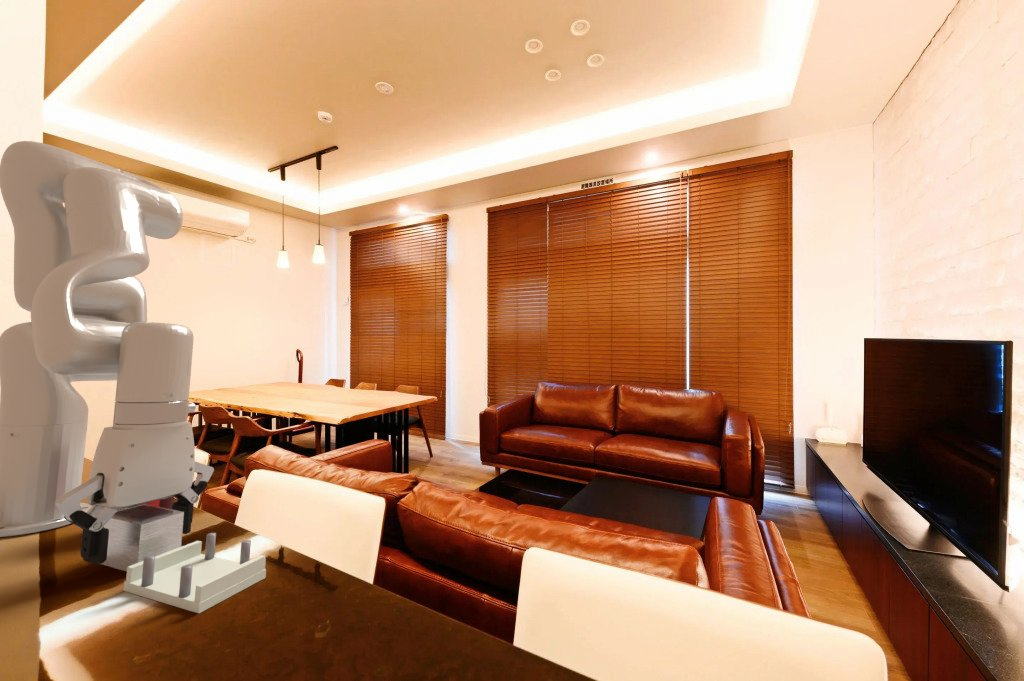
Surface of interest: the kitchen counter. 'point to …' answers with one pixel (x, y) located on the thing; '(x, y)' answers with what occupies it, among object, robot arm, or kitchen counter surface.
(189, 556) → the tray
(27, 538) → the kitchen counter surface
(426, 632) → the kitchen counter surface
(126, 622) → the kitchen counter surface
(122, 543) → the box
